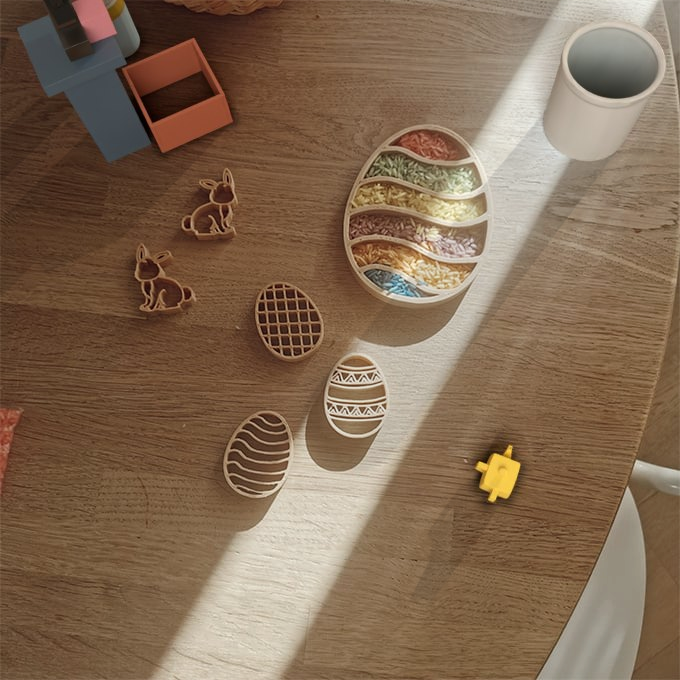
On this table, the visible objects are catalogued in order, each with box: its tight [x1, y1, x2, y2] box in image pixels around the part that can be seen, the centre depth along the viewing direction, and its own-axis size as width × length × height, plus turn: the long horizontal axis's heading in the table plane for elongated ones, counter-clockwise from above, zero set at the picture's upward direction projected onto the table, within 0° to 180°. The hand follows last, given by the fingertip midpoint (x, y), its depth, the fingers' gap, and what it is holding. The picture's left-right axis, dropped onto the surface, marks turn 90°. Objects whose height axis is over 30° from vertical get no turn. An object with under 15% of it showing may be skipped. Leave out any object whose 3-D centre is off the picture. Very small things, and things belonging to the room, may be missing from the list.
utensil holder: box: [542, 18, 667, 162], centre depth 115 cm, size 15×15×18 cm
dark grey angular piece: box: [41, 0, 95, 62], centre depth 98 cm, size 4×10×11 cm, turn 26°
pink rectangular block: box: [71, 0, 117, 43], centre depth 103 cm, size 4×4×4 cm
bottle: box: [102, 0, 141, 59], centre depth 127 cm, size 7×7×15 cm
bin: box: [121, 37, 234, 154], centre depth 124 cm, size 13×13×8 cm
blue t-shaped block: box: [16, 14, 152, 164], centre depth 116 cm, size 12×12×24 cm
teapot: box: [474, 444, 521, 503], centre depth 102 cm, size 8×6×5 cm
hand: (62, 10), depth 100 cm, fingers closed on dark grey angular piece, 3 cm apart
